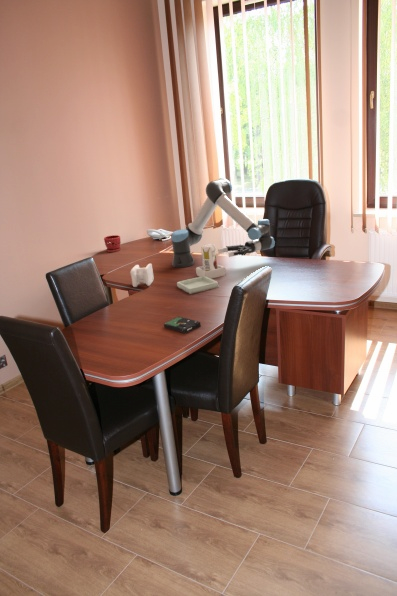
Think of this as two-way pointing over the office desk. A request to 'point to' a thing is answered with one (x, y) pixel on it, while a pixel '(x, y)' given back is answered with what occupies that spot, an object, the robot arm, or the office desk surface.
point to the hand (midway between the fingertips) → (223, 253)
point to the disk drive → (182, 324)
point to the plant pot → (112, 243)
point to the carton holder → (211, 272)
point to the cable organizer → (142, 275)
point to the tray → (197, 284)
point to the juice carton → (209, 257)
